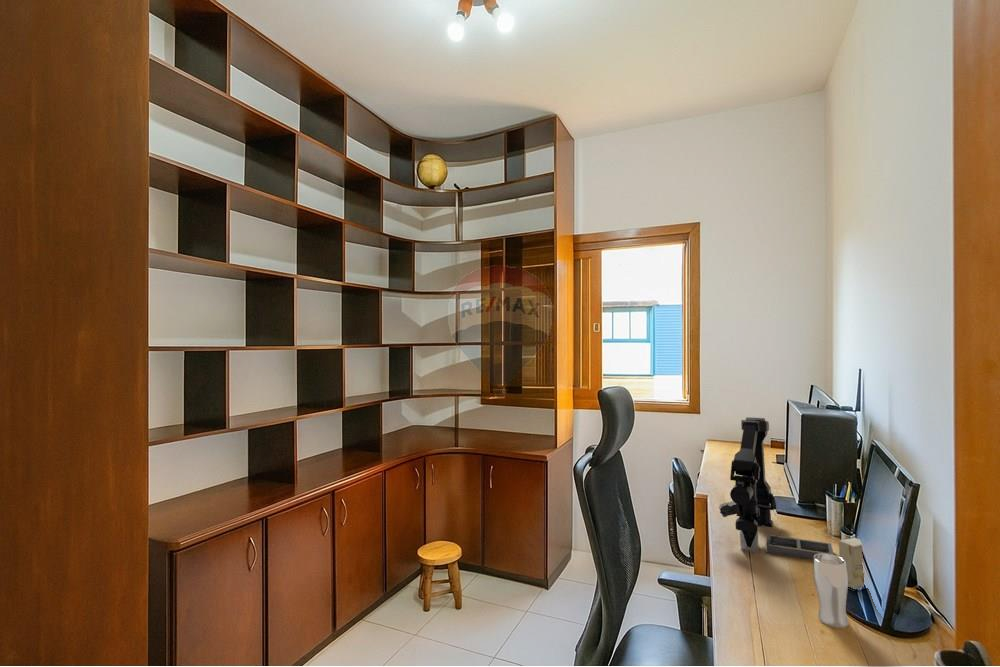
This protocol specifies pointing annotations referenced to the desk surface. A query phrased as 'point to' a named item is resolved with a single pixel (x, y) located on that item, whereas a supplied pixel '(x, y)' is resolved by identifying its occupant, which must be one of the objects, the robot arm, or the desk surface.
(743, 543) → the knobbed drawer box
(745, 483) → the robot arm
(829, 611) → the beer glass
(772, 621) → the desk surface
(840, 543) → the skincare box
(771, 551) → the two-cubby grey shelf
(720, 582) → the desk surface
